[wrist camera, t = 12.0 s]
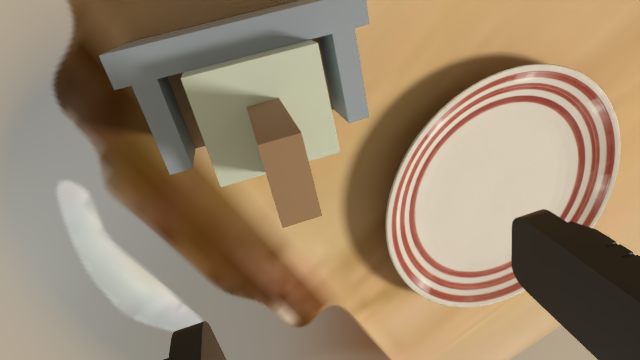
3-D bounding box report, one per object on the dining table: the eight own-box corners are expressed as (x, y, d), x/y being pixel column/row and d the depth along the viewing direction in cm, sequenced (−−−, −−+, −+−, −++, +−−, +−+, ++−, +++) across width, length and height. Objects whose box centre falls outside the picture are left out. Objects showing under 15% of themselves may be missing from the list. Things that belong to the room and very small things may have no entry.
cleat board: (126, 42, 29) (98, 55, 22) (330, -8, 31) (364, -11, 24) (167, 140, 33) (154, 179, 26) (348, 90, 35) (382, 113, 28)
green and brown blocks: (187, 63, 27) (166, 108, 16) (298, 34, 28) (356, 58, 17) (219, 154, 30) (222, 248, 19) (318, 126, 31) (379, 199, 20)
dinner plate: (578, 3, 37) (609, 4, 34) (613, 212, 50) (639, 226, 47) (328, 157, 37) (337, 170, 34) (427, 325, 50) (440, 346, 47)
